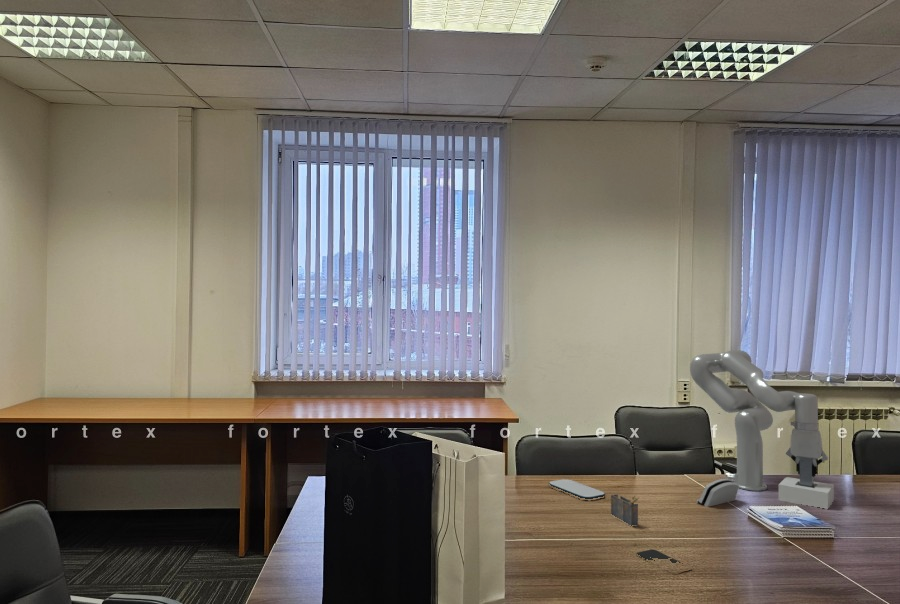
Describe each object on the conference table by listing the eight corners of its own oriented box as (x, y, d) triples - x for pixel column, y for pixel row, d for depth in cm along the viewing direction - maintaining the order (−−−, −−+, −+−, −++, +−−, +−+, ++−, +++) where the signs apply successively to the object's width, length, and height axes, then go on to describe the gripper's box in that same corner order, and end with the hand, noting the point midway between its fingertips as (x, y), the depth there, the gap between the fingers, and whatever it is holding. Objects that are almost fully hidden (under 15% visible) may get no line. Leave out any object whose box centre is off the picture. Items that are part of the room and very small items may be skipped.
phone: (674, 573, 163) (634, 552, 177) (674, 576, 163) (634, 555, 177) (694, 568, 166) (653, 548, 180) (694, 571, 166) (653, 551, 180)
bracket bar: (799, 489, 229) (799, 452, 229) (801, 487, 232) (801, 450, 232) (812, 491, 226) (811, 454, 226) (813, 489, 229) (813, 452, 229)
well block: (778, 500, 229) (778, 484, 229) (786, 492, 240) (786, 476, 240) (827, 509, 219) (827, 492, 219) (833, 500, 229) (833, 484, 229)
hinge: (723, 496, 233) (731, 474, 230) (733, 504, 229) (742, 481, 226) (695, 503, 225) (703, 480, 222) (705, 511, 221) (713, 487, 218)
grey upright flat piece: (638, 527, 201) (639, 497, 201) (631, 528, 199) (631, 498, 200) (618, 516, 211) (618, 488, 211) (610, 516, 210) (611, 488, 210)
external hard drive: (545, 487, 245) (545, 482, 245) (567, 483, 251) (567, 478, 251) (585, 503, 225) (585, 498, 225) (608, 498, 231) (608, 493, 231)
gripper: (779, 425, 232) (779, 473, 232) (830, 430, 221) (831, 481, 221) (783, 422, 238) (784, 469, 237) (833, 427, 227) (834, 476, 226)
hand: (806, 474), depth 229 cm, fingers closed on bracket bar, 4 cm apart
